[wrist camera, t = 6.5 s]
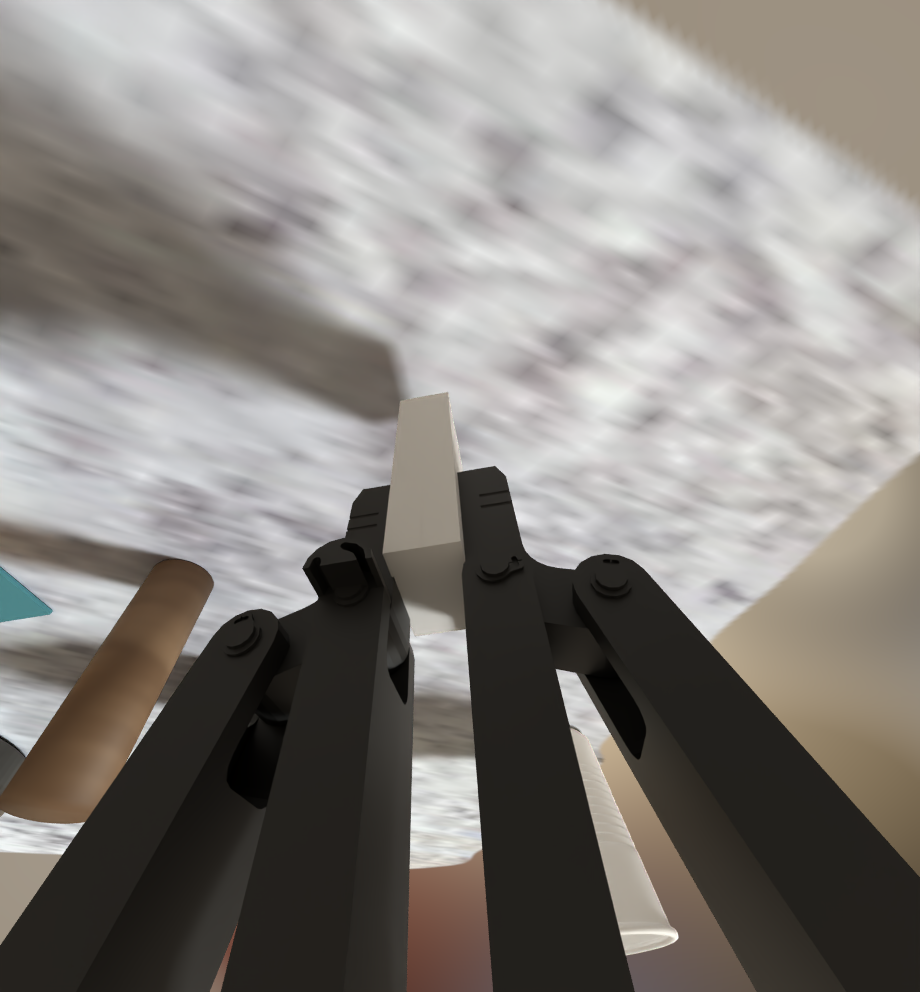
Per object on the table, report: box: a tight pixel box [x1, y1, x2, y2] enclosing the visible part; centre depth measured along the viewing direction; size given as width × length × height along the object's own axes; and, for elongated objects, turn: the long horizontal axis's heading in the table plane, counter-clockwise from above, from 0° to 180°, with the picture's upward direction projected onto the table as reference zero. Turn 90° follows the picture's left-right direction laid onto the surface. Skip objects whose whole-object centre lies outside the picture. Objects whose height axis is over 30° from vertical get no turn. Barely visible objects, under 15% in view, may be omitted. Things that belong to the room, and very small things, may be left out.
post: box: [0, 560, 214, 824], centre depth 17 cm, size 3×3×9 cm
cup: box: [570, 728, 678, 955], centre depth 29 cm, size 10×10×11 cm
